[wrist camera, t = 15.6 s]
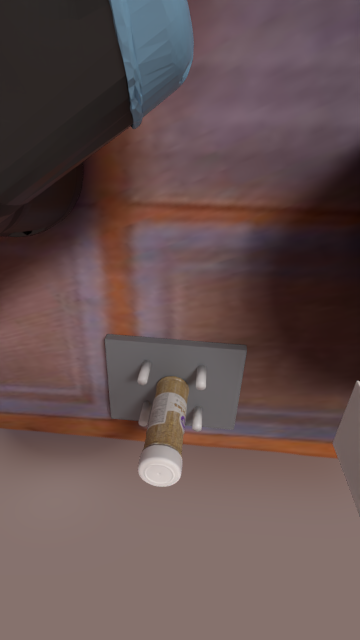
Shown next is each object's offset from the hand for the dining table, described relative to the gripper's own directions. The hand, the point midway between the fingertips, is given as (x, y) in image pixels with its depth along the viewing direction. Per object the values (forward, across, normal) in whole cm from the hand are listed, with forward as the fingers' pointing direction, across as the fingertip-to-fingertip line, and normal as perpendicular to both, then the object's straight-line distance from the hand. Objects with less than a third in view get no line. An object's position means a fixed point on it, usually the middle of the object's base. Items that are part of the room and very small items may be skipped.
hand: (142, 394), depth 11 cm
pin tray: (+29, -1, -24) cm, 37 cm away
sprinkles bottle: (+28, -1, -24) cm, 36 cm away
